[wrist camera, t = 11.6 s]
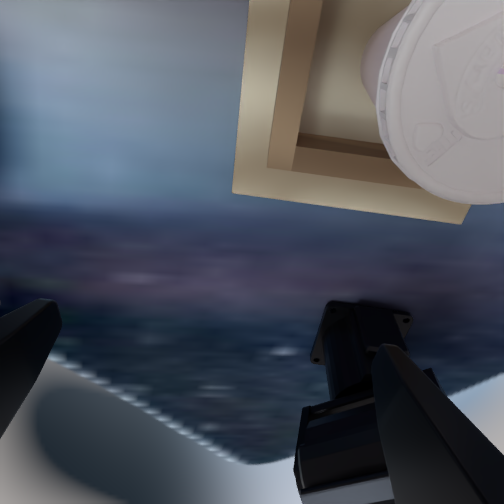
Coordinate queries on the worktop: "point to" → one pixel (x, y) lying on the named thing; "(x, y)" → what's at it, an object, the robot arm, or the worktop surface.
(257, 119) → the bottle stand
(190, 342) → the worktop surface
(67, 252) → the worktop surface
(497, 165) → the smoothie
